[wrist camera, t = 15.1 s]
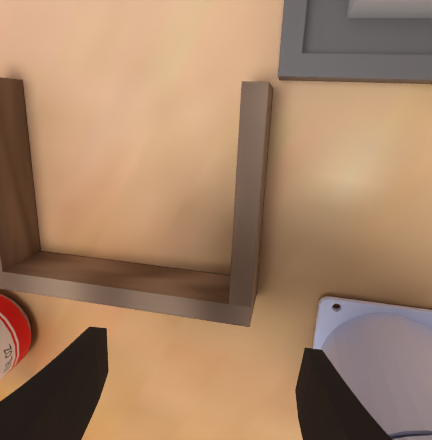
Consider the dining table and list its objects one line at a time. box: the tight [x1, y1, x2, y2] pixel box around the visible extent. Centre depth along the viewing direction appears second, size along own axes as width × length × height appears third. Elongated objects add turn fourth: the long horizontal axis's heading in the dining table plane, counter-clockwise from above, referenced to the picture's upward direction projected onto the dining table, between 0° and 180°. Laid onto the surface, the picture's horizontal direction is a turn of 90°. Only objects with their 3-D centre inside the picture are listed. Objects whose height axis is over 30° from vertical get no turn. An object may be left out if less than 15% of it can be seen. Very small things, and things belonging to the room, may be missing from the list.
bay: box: [0, 78, 273, 327], centre depth 21 cm, size 16×12×4 cm
